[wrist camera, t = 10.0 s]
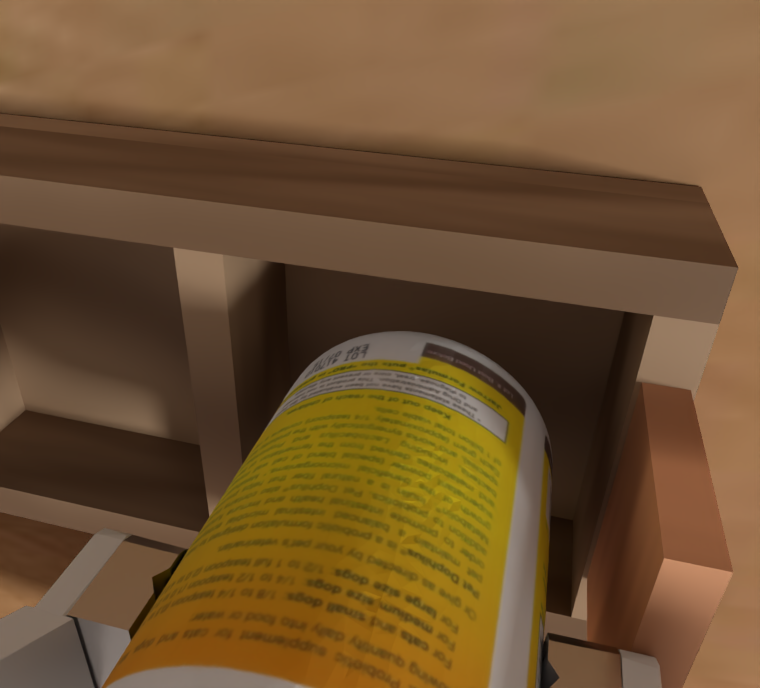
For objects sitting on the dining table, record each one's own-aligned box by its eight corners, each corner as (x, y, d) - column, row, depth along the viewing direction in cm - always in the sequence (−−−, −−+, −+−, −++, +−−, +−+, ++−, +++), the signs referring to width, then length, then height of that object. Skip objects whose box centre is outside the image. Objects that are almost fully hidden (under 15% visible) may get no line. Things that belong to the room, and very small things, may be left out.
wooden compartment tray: (-63, 106, 17) (-466, 215, 11) (701, 186, 14) (810, 423, 7) (26, 411, 22) (-209, 614, 16) (604, 527, 19) (615, 854, 12)
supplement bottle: (247, 361, 15) (-224, 964, 6) (491, 279, 12) (278, 1076, 4) (365, 549, 17) (134, 1195, 8) (593, 509, 14) (605, 1363, 6)
